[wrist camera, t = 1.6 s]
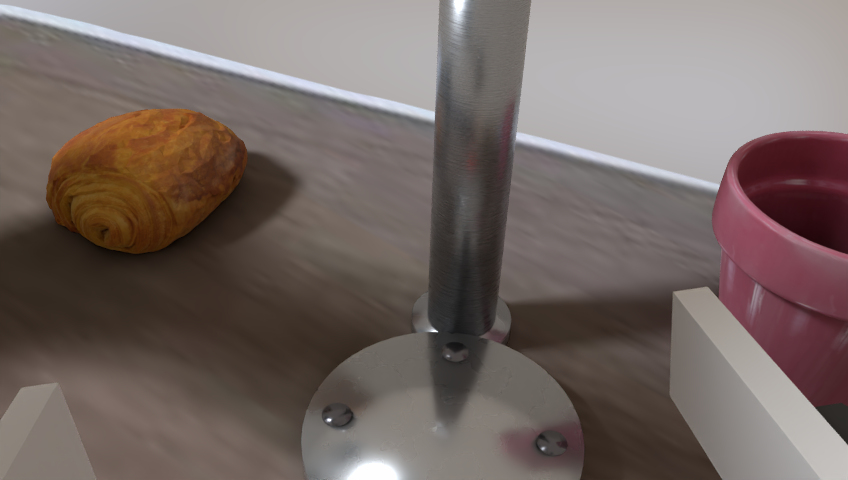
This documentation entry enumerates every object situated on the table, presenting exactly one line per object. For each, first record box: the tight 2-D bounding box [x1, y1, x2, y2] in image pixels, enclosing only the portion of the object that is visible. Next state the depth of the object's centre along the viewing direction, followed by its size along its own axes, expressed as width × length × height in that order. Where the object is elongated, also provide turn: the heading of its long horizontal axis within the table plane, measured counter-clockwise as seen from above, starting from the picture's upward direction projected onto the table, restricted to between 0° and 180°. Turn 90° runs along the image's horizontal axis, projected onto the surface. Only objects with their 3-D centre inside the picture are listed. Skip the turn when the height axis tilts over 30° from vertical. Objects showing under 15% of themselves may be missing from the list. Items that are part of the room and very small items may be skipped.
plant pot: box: [712, 131, 848, 407], centre depth 45 cm, size 14×14×13 cm
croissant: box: [46, 109, 248, 254], centre depth 60 cm, size 14×16×8 cm
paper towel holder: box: [301, 0, 585, 480], centre depth 36 cm, size 15×21×28 cm
